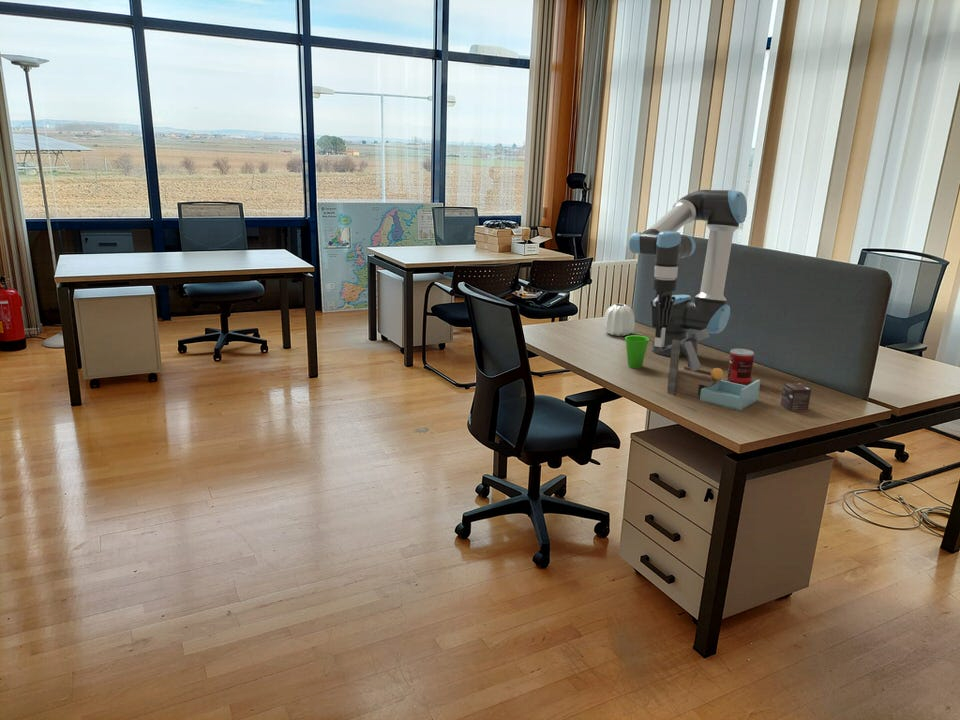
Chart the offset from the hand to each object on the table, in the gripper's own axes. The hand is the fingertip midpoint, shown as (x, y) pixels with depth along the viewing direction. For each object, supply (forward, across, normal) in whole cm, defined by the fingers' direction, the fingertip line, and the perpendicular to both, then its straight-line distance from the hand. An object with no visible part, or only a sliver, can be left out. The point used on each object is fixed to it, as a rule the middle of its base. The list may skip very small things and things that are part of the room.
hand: (659, 346), depth 236 cm
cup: (+13, -13, -16) cm, 24 cm away
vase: (+13, -51, -47) cm, 70 cm away
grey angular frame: (+14, -1, +13) cm, 19 cm away
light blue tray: (+14, -1, +26) cm, 29 cm away
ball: (+4, -1, +22) cm, 22 cm away
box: (+14, -9, +44) cm, 47 cm away
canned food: (+13, -23, +20) cm, 33 cm away
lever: (+6, -1, +13) cm, 14 cm away
